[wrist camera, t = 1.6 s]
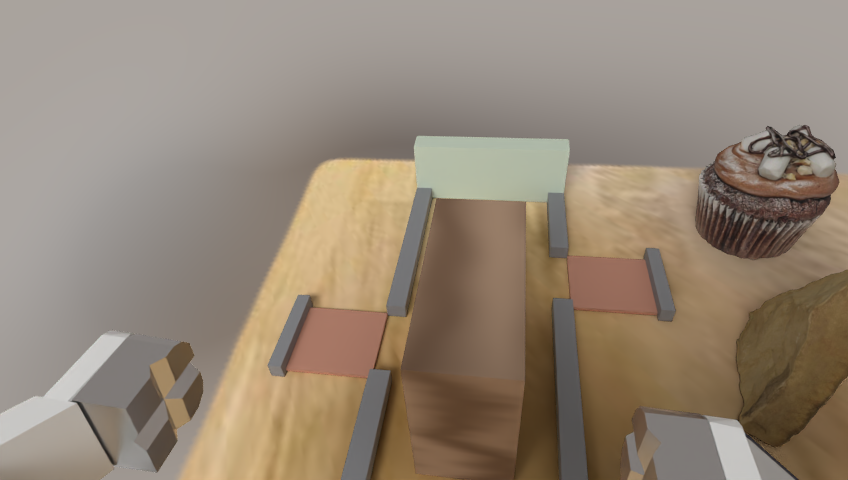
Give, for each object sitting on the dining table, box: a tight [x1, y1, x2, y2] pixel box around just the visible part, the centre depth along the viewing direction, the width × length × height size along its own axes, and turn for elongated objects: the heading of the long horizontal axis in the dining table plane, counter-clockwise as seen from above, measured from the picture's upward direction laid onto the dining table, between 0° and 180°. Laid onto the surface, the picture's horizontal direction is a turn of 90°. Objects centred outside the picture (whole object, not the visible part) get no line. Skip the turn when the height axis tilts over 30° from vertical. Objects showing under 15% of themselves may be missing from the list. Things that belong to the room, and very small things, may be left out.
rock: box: [736, 270, 848, 447], centre depth 35 cm, size 11×9×10 cm
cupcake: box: [695, 125, 839, 260], centre depth 45 cm, size 10×10×10 cm
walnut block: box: [401, 198, 526, 480], centre depth 34 cm, size 6×14×11 cm, turn 172°
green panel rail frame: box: [268, 136, 676, 480], centre depth 41 cm, size 30×33×6 cm
